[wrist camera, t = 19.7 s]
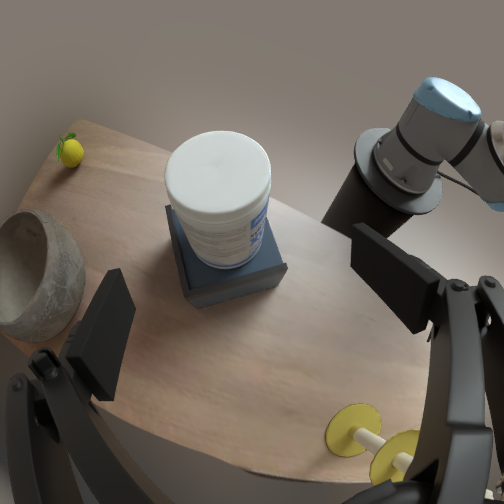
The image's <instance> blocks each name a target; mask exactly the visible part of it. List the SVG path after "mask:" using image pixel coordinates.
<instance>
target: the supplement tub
mask: <svg viewBox="0 0 504 504" xmlns="http://www.w3.org/2000/svg"><path fill="white" fill-rule="evenodd" d="M164 179H165V185H166V188H167V194H168V197H169V199H170V202H171V204H172V206H173V209H174V211H175V213H176V215H177V217H178V220H179V222H180V224H181V226H182V228H183V230H184V232H185V234H186V237H187V239H188V241H189V243H190V245H191V247H192V249H193V251H194V252H195V254H196V255H197V257H198V258H199V259H200V260H201V261H203V262H204V263H206V264H207V265H209V266H212V267H214V268H219V269H232V268H236V267H239V266H241V265H243V264H245V263H247V262H248V261H250V260H251V259H252V258H253V257H254V256H255V254H256V253H257V252H258V250H259V248H260V246H261V242H262V238H263V232H264V226H265V220H266V214H267V207H268V201H269V195H270V187H271V166H270V161H269V158H268V156H267V154H266V152H265V151H264V149H263V148H262V147H261V146H260V145H259V144H258V143H257V142H255V141H254V140H252V139H251V138H249V137H247V136H245V135H242V134H239V133H236V132H230V131H213V132H207V133H203V134H200V135H197V136H195V137H193V138H191V139H189V140H187V141H186V142H184V143H183V144H182V145H180V146H179V147H178V148H177V149H176V150H175V151H174V152H173V154H172V155H171V157H170V158H169V160H168V162H167V165H166V168H165V175H164Z"/></svg>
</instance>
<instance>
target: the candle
mask: <svg viewBox="0 0 504 504" xmlns="http://www.w3.org/2000/svg"><path fill="white" fill-rule="evenodd" d="M380 430H381V418H380V416H379V413H378V411H377V410H375V409H374V408H373V407H372V406H370V405H366V404H362V403H360V404H354V405H350V406H348V407H346V408H344V409H343V410H341V411H339V412H338V413H337V414H336V415H335V417H334V418H333V419H332V420H331V421H330V424H329V426H328V428H327V430H326V443H327V445H328V447H329V449H330V450H331V451H332V452H334V453H335V454H336V455H339V456H345V457H350V456H354V455H359V454H360V453H362V452H364V451H365V450H368V451H370V452H371V453H372V454H374V455H375V457H374V459H373V460H372V462H371V465H370V472H369V477H370V480H371V482H372V484H373V485H374V486H376V485H378V484H380V483H382V482H384V481H386V480H388V479H390V478H391V480H392V482H397V481H403V478H404V475H405V473H406V471H407V469H408V467H409V465H410V463H411V462H412V460H413V457H414V454H415V450H416V446H417V442H418V438H419V433H420V430H415V429H409V430H406V431H403V432H400V433H398V434H396V435H395V436H393V437H392V438H390V439H389V440H387V441H386V440H384V439H382V438H380V437H379V436H378V435H379V433H380ZM492 495H493V492H492V491H490V490H487V489H486V494H485V498H488V499H494V498H493V496H492Z"/></svg>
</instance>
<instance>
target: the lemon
mask: <svg viewBox="0 0 504 504" xmlns="http://www.w3.org/2000/svg"><path fill="white" fill-rule="evenodd" d="M75 136H76V134H75V133H69V134H68V135H67V137H66V138H65V139H64V140H66V141H63V140H62V138H61V137H60V136H59V137H60V139H61V140H62V142H63V144H62V145H61V147H60V144H61V141H60V143H59V144H58V146H57V150H56V153H57V158H58V162H59V154H60V158H61V160H62V162H63V164H64V165H66V166H67V167H76V166H77V165H78V164H80V162H81V161H82V159H83V157H84V150H83V148H82V146H81V145H80V143H79V142H77V141H76V140H72V139H71V138H73V137H75ZM67 139H69V140H67ZM59 150H60V153H59Z"/></svg>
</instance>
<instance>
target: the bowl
mask: <svg viewBox="0 0 504 504" xmlns="http://www.w3.org/2000/svg"><path fill="white" fill-rule="evenodd" d="M84 286H85V266H84V260H83V256H82V253H81V250H80V248H79V246H78V244H77V242H76V240H75V239H74V237H73V236H72V235H71V233H70V232H69V231H68V229H67V228H66V227H65V226H64V225H63V224H62V223H61V222H60V221H59V220H57V219H56V218H54V217H53V216H52V215H50V214H48V213H46V212H43V211H41V210H37V209H21V210H19V211H16V212H14V213H12V214H11V215H10V216H8V217H7V218H6V219H5V220H4V221H3V222H2V223H1V224H0V329H1V330H2V331H3V332H4V333H6V334H7V335H9V336H11V337H13V338H15V339H17V340H20V341H24V342H32V343H38V342H43V341H46V340H48V339H51V338H52V337H54V336H56V335H57V334H58V333H60V332H61V331H62V330H63V329H64V328H65V327H66V326H67V325H68V323H69V322H70V321H71V319H72V317H73V316H74V314H75V312H76V310H77V308H78V306H79V304H80V301H81V298H82V294H83V290H84Z"/></svg>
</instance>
